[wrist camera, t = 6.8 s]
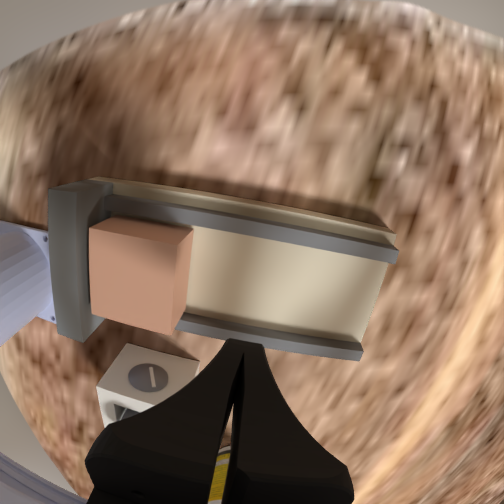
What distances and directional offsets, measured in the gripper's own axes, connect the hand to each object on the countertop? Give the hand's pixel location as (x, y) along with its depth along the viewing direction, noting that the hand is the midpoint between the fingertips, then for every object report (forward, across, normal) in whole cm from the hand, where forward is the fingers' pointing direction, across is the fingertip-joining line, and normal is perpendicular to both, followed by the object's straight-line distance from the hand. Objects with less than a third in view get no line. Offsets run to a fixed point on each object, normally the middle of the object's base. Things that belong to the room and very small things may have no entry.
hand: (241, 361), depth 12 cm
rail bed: (+9, +2, 0) cm, 9 cm away
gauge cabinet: (+9, +6, +11) cm, 15 cm away
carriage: (+7, +6, 0) cm, 10 cm away
